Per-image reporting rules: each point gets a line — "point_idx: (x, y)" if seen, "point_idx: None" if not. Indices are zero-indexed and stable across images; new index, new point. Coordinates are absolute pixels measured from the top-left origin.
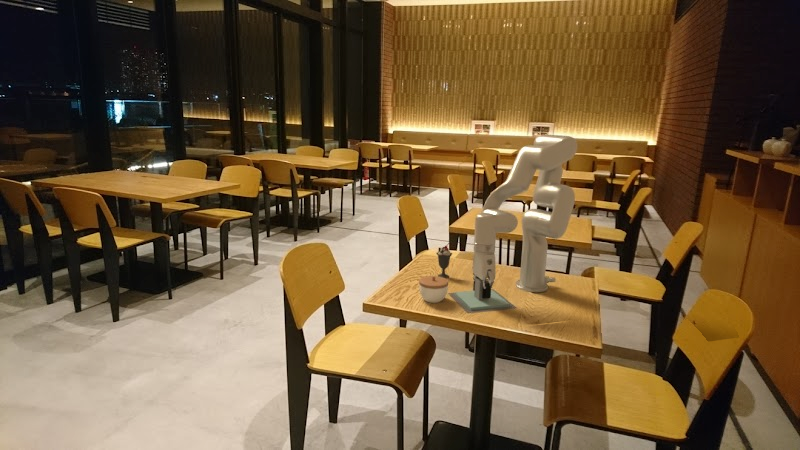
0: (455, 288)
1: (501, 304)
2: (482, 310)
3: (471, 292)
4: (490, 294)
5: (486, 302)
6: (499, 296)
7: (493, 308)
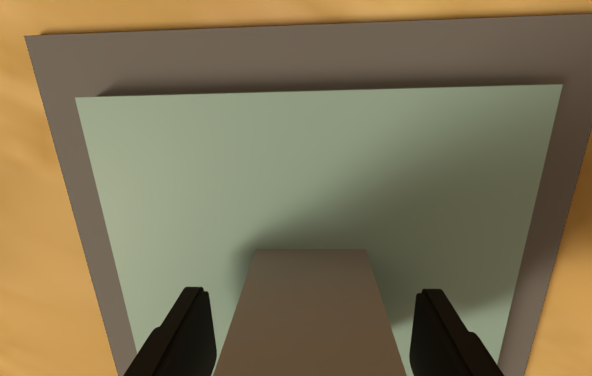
0: (17, 345)
1: (532, 185)
2: (506, 348)
3: None
4: (458, 317)
5: None
6: (317, 103)
7: None
